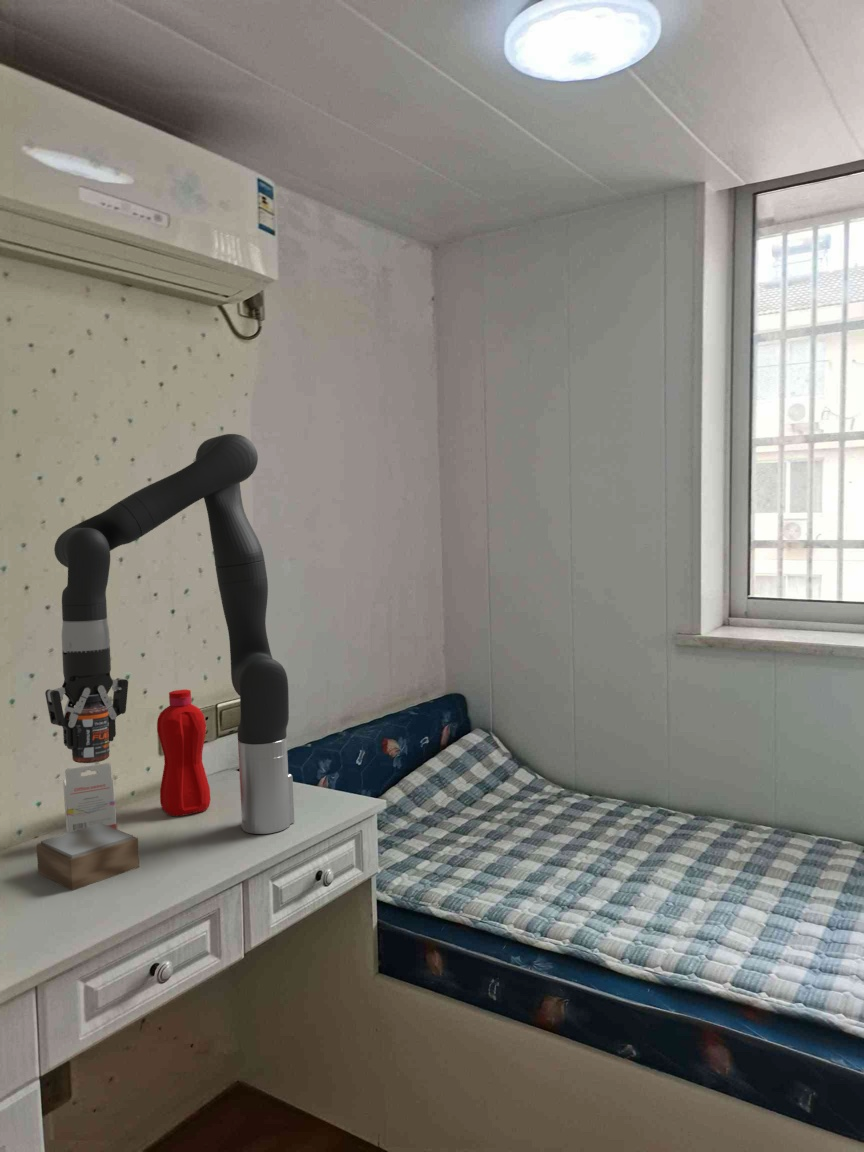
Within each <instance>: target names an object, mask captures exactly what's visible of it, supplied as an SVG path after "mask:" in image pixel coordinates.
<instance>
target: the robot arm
mask: <svg viewBox="0 0 864 1152" xmlns="http://www.w3.org/2000/svg"><path fill="white" fill-rule="evenodd" d="M258 460H259V457H258V451H257V448H256V446H255V445H254V443H253V442H252V441H251V440H250V439H249V438H247V437H246V436H244V435H241V434H236V433H226V434H221V435H217V436H213V437H211V438H208V439H206V440H204V441H203V442H202V443H201V444H200V445H199V447H198V448H197V450H196V453H195V461H193V462H192V463H190V464H189V465H186V466H185V467H184V468H182V469H180V470H178V471H177V472H175V473H172V474H171V475H168V476H166V477H164V478H162V479H160V480H158V481H155V482H153V483H150V484H149V485H146V486H145V487H143V488H141V489H138V490H137V491H135V492H133V493H132V494H130V495H129V496H128V495H127V497H125V498H123V499H121V500H120V501H118V502H117V503H115V504H113V505H111V506H110V507H109V508H108V509H106V510H104V511H102V512H101V513H99V514H95V515H93V516H91V517H89V518H88V519H85V520H83V521H80V522H79V523H76V524H75V525H73V526H71V527H70V528H68V529H66V530H64V531H63V532H62V533H61V534H60V535H59V536H58V538H57V539H56V541H55V543H54V550H53V551H54V555H55V558H56V560H57V561H58V562H59V563H60V564H61V565H62V566H64V567H65V568H67V584H66V585H67V586H65V588H63V590H62V593H61V616H62V628H61V648H62V649H61V652H62V655H61V657H62V674H63V678H64V679H63V680H64V681H63V683H62V685H61V687H58V688H55V689H54V688H53V689H47V690H46V691H45V692H44V695H45V699H46V704H47V708H48V709H47V711H48V716H49V720H50V724H52V725H55V726H60V727H62V730H63V732H62V733H63V735H62V736H63V745H64V746H66V748H67V749H69V750H71V751H72V750H74V749H77V727H74V726H75V724H76V721H77V718H78V715H80V714H81V712H82V710H83V707H84V705H85V702H86V699H87V698H88V696H89V695H93V694H99V695H100V697H101V700H102V703H103V705H104V706H106V707H107V708H108V718H109V719H108V721H109V742H113V741H114V738H115V737H116V735H117V732H116V730H117V729H116V719H117V717H118V716H120V715H124V714H126V710H127V702H128V691H129V689H128V688H129V680H128V679H125V678H119V677H116V679H113V678H112V676H111V670H112V667H111V666H112V663H111V661H112V660H111V644H110V643H111V638H110V628H109V623H108V612H107V610H108V609H107V586H108V583H109V582H108V581H109V573H110V568H111V551H113V550H115V549H117V548H118V547H120V546H125V545H127V544H131V543H132V542H135V541H137V540H138V539H140V538H142V537H143V536H145V535H146V534H148V533H150V532H151V531H153V530H154V529H157V528H158V527H159V526H161V525H162V524H164V523H165V522H166V521H167V522H168V521H169V519H171V518H173V517H174V516H176V515H177V514H179V513H180V512H182V511H183V510H185V509H188V507H190V506H191V505H193V504H194V503H196V502H198V501H200V500H204V503H205V508H206V512H207V517H208V522H209V523H208V524H209V531H210V538H211V544H212V550H213V551H212V552H213V558H214V565H215V572H216V580H217V584H218V589H219V596H220V600H221V604H222V605H221V606H222V609H223V614H224V618H225V623H226V627H227V631H228V638H229V640H228V642H229V652H230V653H229V654H230V655H229V657H230V672H231V673H230V675H231V683H232V687H233V689H234V691H235V693H236V694H237V695H238V696H239V703H240V706H239V707H240V709H239V710H240V719H239V724H238V726H237V746H238V747H237V748H238V749H237V750H238V765H239V766H238V769H239V790H240V791H239V793H240V813H241V815H240V816H241V829H242V831H243V832H246V833H248V834H251V835H252V834H254V835H265V834H272V833H278V832H281V831H284V830H286V829H288V827H290V826H291V824H294V823H295V808H294V807H295V802H294V780H293V778H294V777H293V775H292V774H291V773H289V762H288V760H289V757H288V743H287V742H288V739H287V728H288V725H289V720H290V719H289V714H290V713H289V709H290V707H289V704H290V703H289V702H290V701H289V681H288V680H289V679H288V675H287V671H286V669H285V668H284V666H283V665H282V664H281V663H280V662H279V661H278V660H275V659H273V656H272V652H271V648H270V644H269V643H270V642H269V639H268V635H267V626H266V618H267V607H268V606H267V605H268V595H269V594H268V592H269V590H268V589H269V587H268V585H269V584H268V576H267V568H266V562H265V556H264V552H263V548H262V545H261V543H260V541H259V539H258V537H257V535H256V532H255V530H254V528H253V527H252V525H251V523H250V522H249V519H248V518H247V515H246V512H245V508H244V505H243V499H242V491H241V484H240V483H242V482H244V481H246V480H248V478H250V477H251V476H252V475H253V473H255V472H254V471H256V468H257V465H258ZM111 690H112V692H113V696H112V697H113V698H112V701H111V698H110V697H109V695H108V694H109V692H110V691H111ZM64 695H65V696H66V698H67V699H68V700H67V702H66V705H65V707H64V711H63V706H62V705H63V704H62V701H63V700H64Z"/></svg>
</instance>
